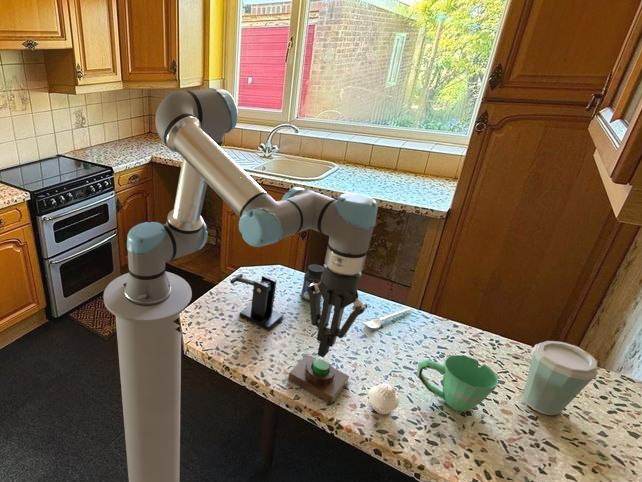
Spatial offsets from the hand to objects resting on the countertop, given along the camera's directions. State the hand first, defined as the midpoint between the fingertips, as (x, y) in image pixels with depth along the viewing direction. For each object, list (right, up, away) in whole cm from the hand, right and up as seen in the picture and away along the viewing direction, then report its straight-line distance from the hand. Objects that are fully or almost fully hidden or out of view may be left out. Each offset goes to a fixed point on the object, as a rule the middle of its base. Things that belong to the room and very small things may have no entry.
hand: (322, 353), depth 94 cm
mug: (+28, -11, -1) cm, 30 cm away
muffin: (+12, -12, -3) cm, 17 cm away
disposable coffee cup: (+49, -11, -2) cm, 50 cm away
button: (0, -5, +2) cm, 5 cm away
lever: (-12, +13, +25) cm, 30 cm away
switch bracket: (-9, +3, +26) cm, 28 cm away
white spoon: (+29, +3, +25) cm, 38 cm away
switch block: (0, -8, +4) cm, 9 cm away
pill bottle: (+9, +8, +36) cm, 38 cm away
